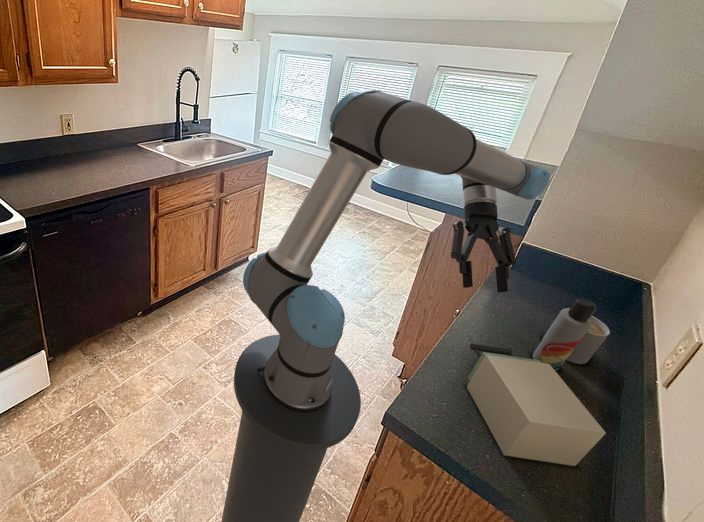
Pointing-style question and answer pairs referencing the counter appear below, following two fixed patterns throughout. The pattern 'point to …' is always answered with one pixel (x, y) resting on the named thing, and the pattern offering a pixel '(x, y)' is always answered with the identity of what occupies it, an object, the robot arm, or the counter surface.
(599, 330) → the coffee mug
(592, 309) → the lotion bottle
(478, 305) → the counter surface
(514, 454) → the cream rectangular box
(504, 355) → the drawer
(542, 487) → the counter surface
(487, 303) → the counter surface
